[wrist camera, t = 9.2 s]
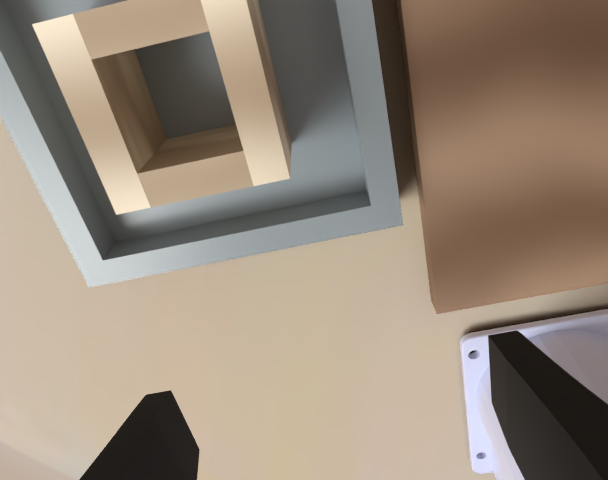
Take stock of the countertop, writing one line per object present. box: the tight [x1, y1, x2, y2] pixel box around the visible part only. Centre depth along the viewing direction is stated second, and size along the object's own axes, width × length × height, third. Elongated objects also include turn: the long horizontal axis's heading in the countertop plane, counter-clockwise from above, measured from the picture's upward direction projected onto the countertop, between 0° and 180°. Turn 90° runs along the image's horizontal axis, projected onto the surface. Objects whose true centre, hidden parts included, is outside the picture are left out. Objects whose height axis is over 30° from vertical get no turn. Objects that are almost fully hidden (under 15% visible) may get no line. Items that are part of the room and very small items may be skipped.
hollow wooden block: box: [32, 0, 292, 215], centre depth 15 cm, size 5×5×4 cm
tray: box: [0, 0, 403, 288], centre depth 16 cm, size 12×12×2 cm
